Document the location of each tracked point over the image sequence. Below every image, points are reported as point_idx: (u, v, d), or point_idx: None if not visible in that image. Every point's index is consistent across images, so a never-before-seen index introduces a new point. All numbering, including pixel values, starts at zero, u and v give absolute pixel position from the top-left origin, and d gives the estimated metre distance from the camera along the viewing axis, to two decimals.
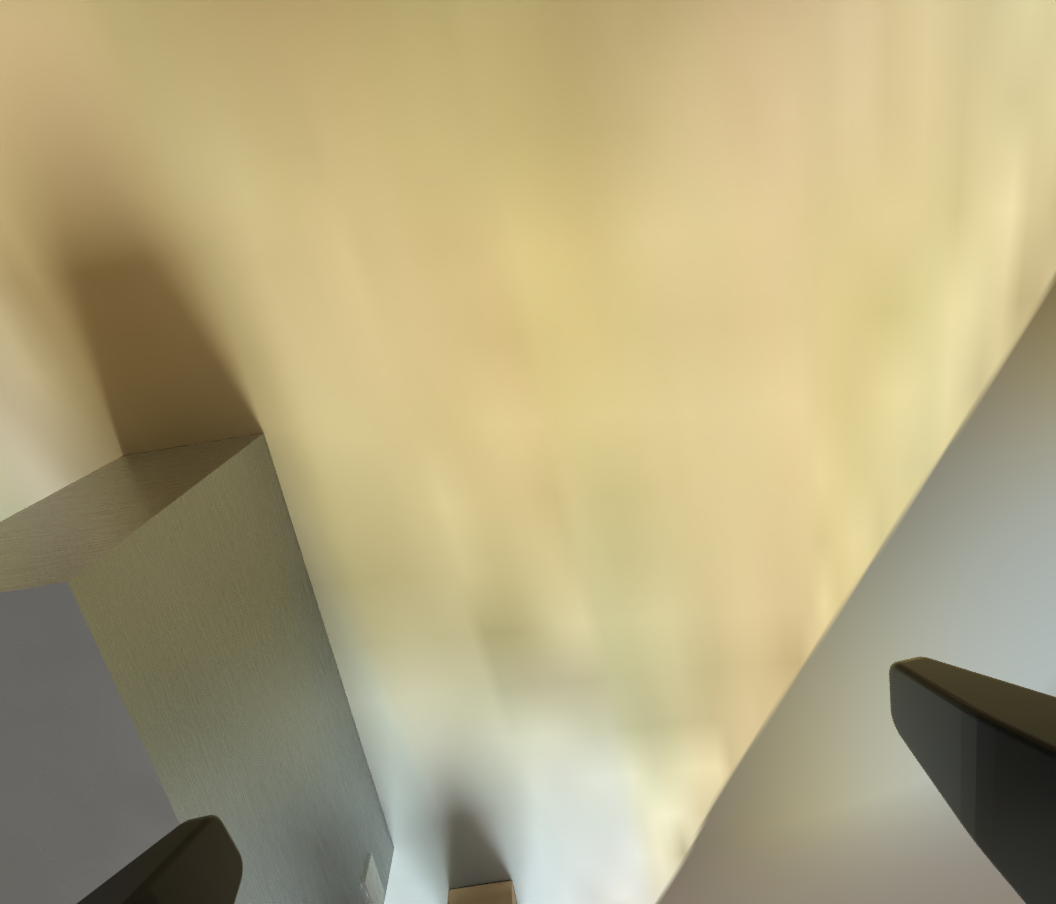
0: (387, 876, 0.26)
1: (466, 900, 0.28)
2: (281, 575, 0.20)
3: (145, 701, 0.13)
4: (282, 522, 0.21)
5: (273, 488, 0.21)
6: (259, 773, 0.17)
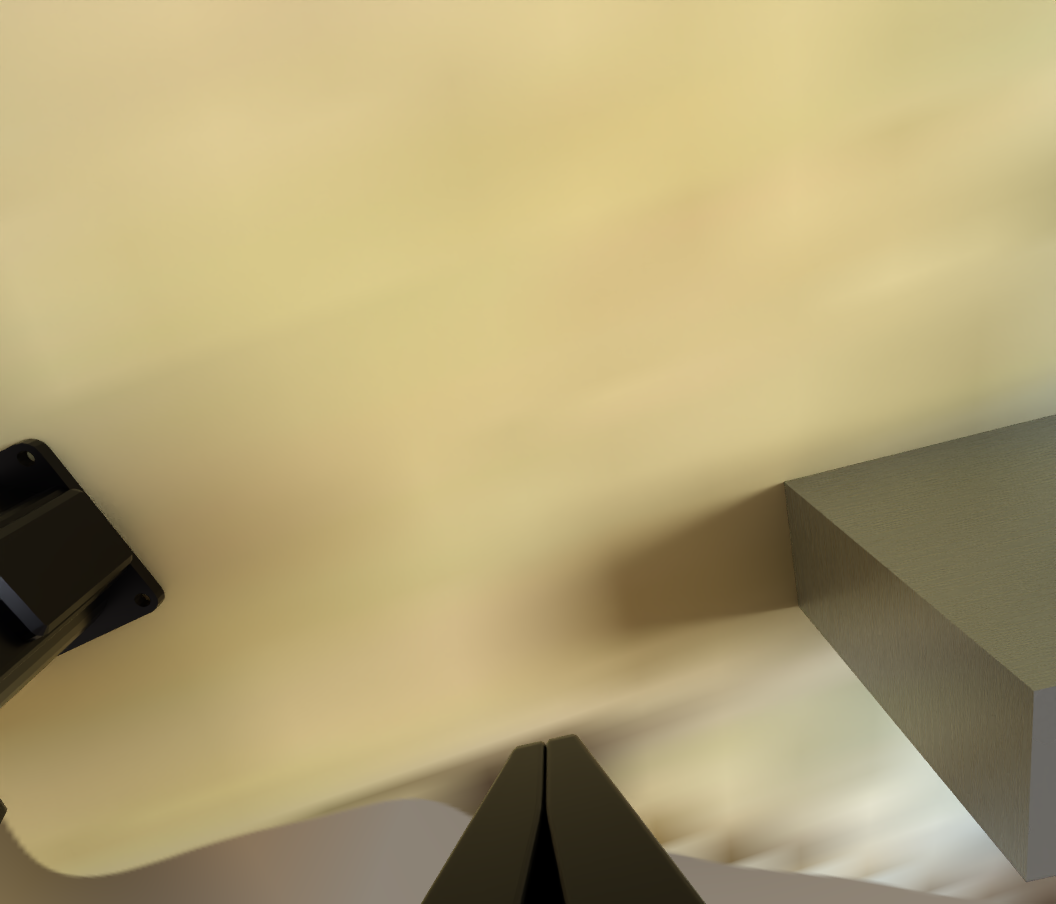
0: None
1: None
2: (963, 469, 0.18)
3: None
4: (890, 465, 0.19)
5: (848, 474, 0.19)
6: None
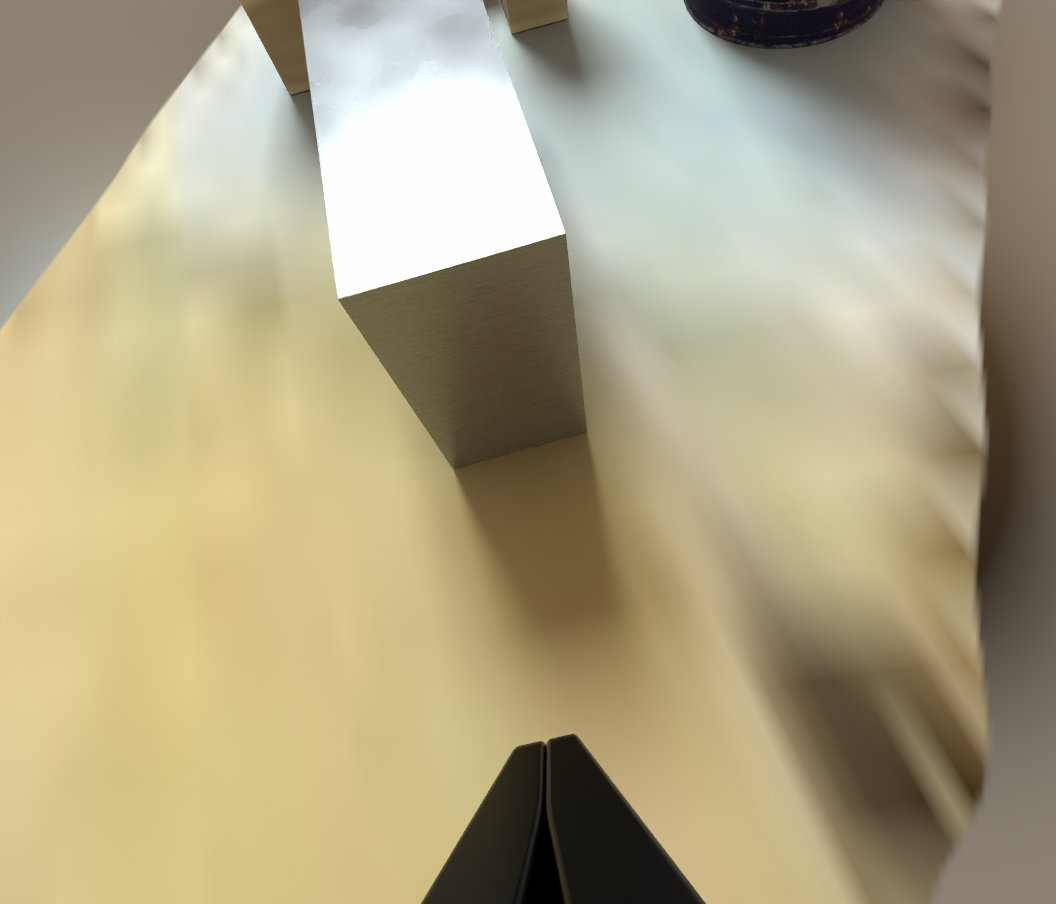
0: None
1: None
2: None
3: None
4: None
5: None
6: None
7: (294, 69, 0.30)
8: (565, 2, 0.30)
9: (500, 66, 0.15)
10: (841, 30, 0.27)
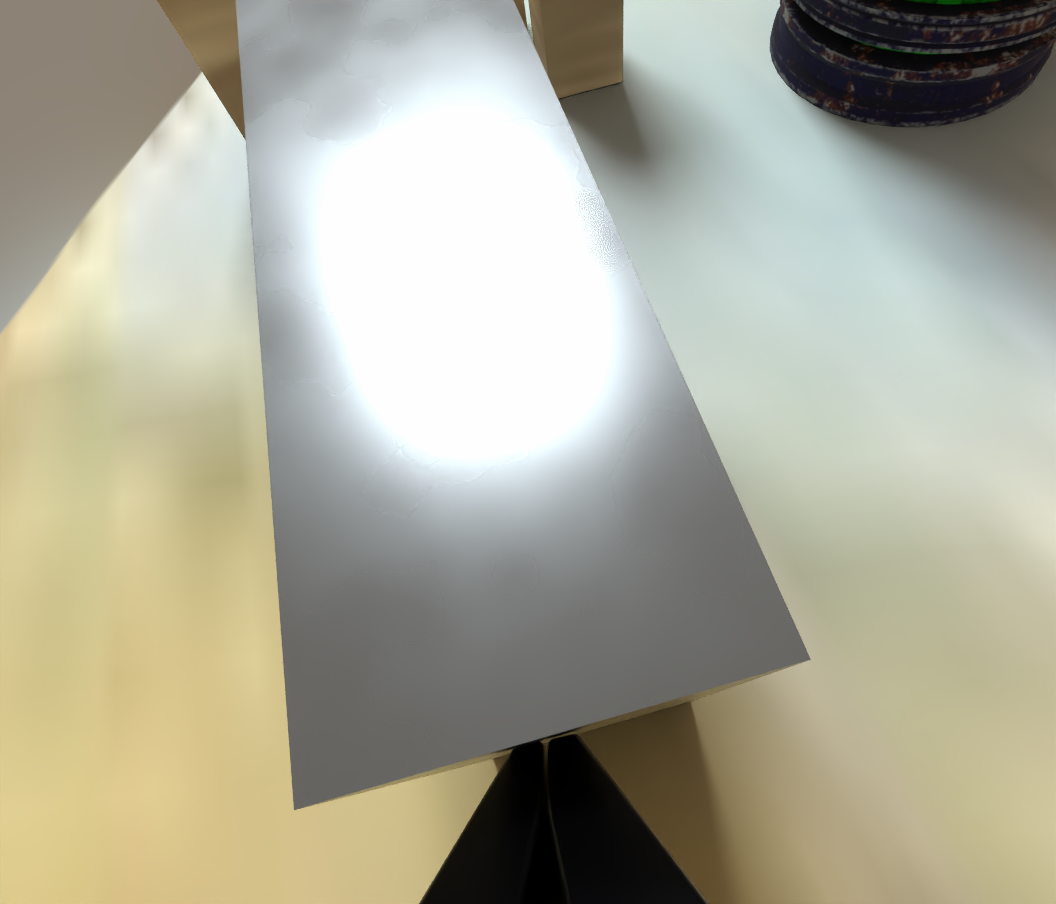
0: None
1: None
2: None
3: None
4: None
5: None
6: None
7: None
8: (620, 62, 0.23)
9: (605, 225, 0.08)
10: (993, 104, 0.21)
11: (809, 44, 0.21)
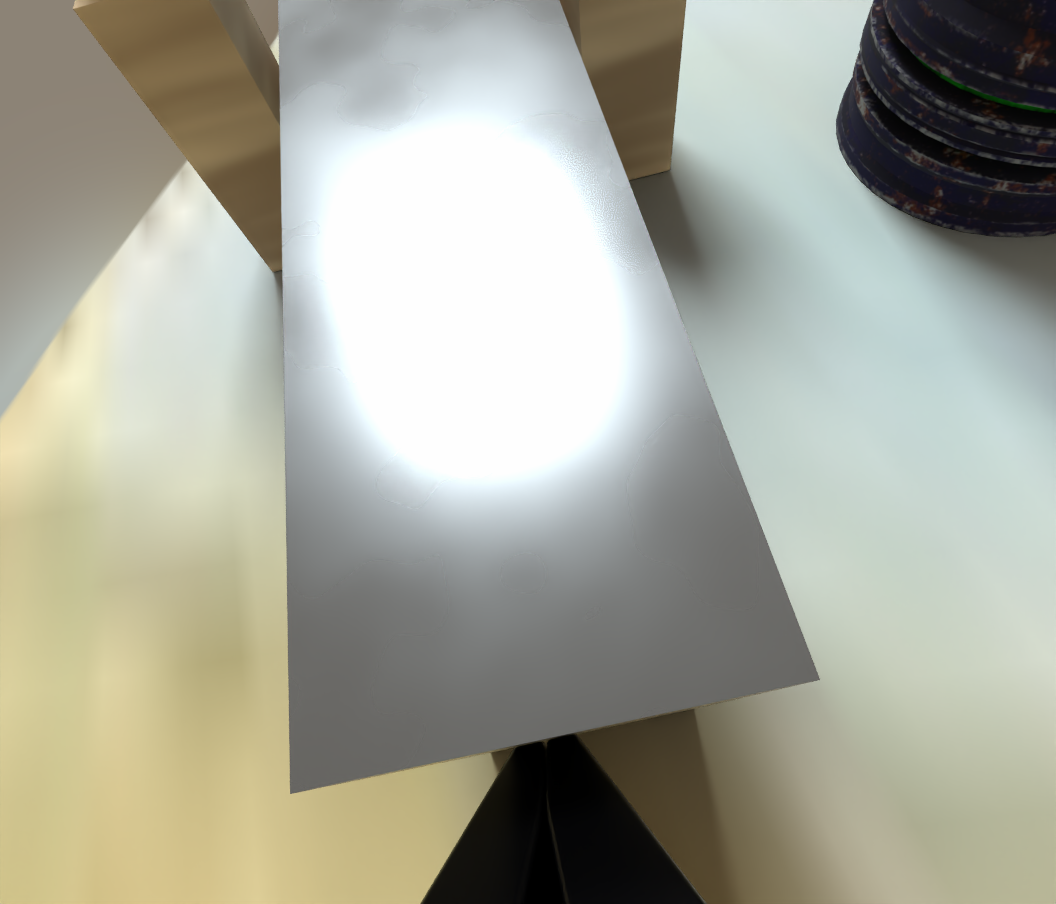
0: None
1: None
2: None
3: None
4: None
5: None
6: None
7: (278, 243, 0.21)
8: (669, 151, 0.21)
9: (634, 225, 0.08)
10: None
11: (891, 142, 0.18)
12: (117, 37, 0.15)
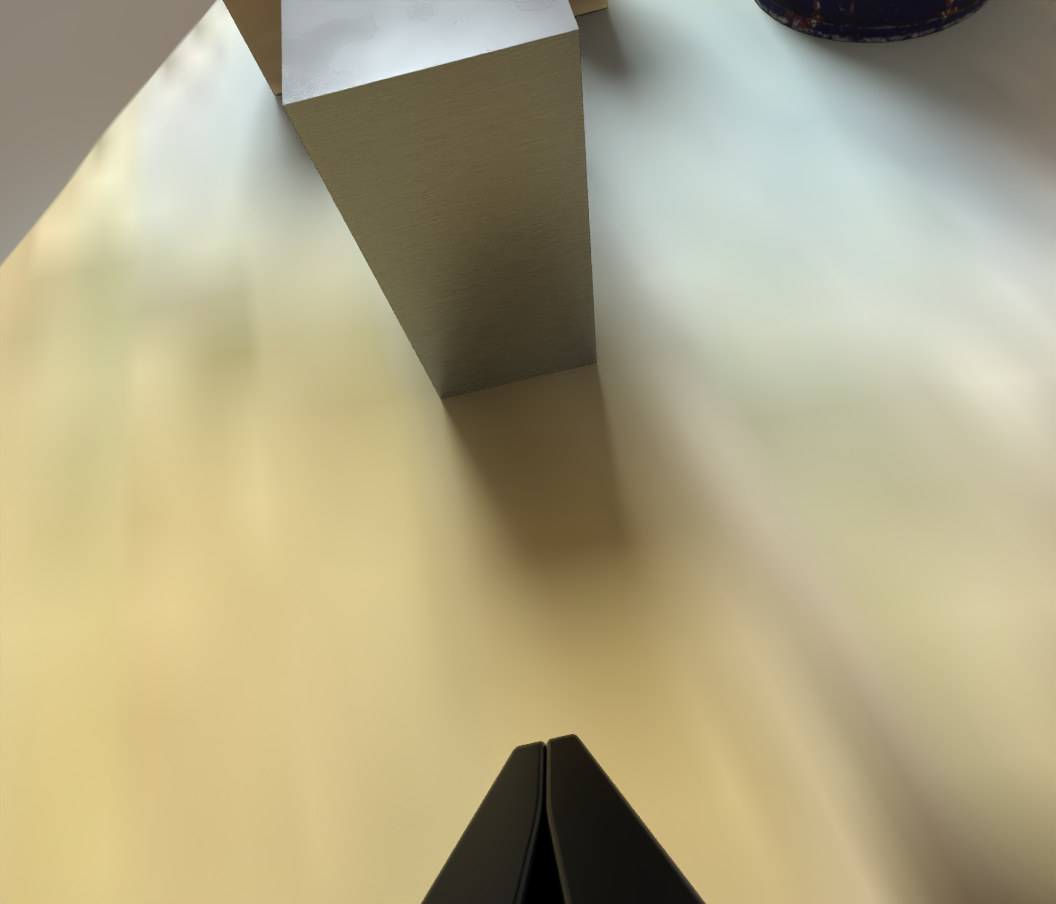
0: None
1: None
2: None
3: None
4: None
5: None
6: None
7: (279, 64, 0.25)
8: None
9: None
10: (949, 20, 0.22)
11: None
12: None
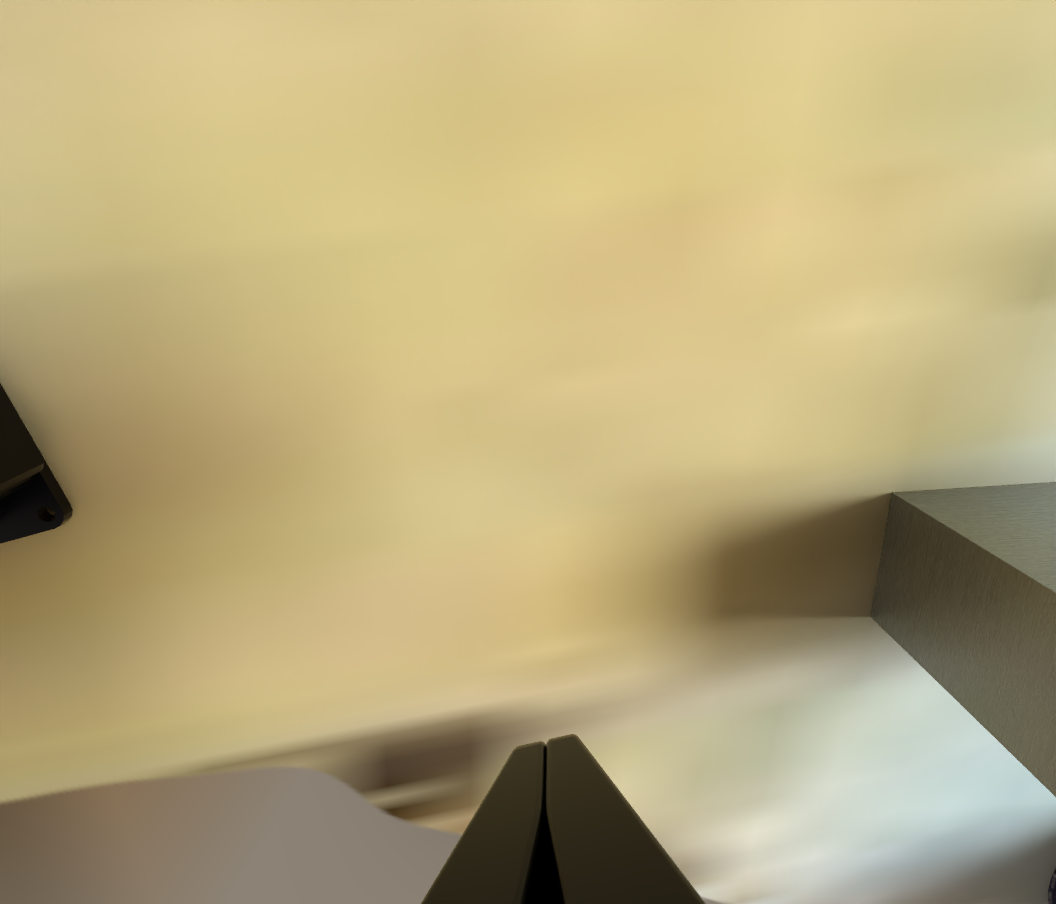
0: None
1: None
2: None
3: None
4: (995, 494, 0.20)
5: (956, 495, 0.20)
6: None
7: None
8: None
9: None
10: (1053, 899, 0.28)
11: None
12: None
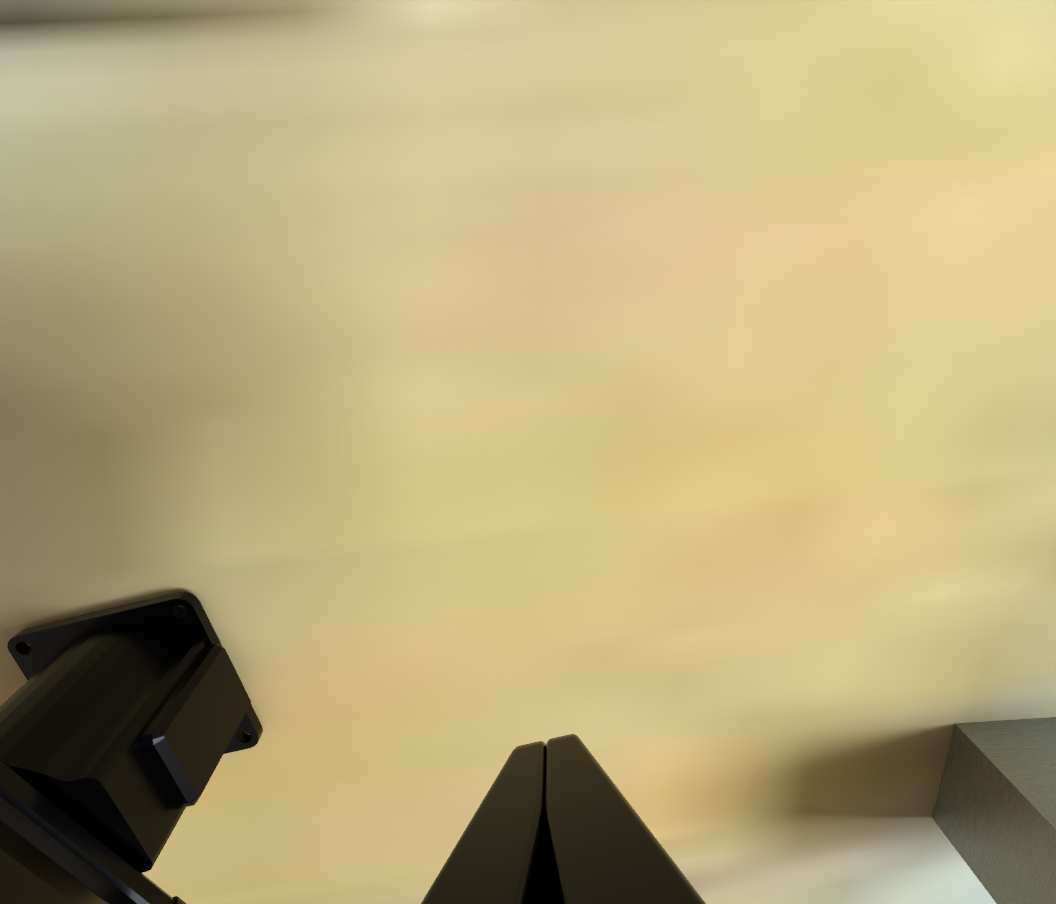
0: None
1: None
2: None
3: None
4: (1047, 731, 0.23)
5: (1012, 732, 0.23)
6: None
7: None
8: None
9: None
10: None
11: None
12: None
